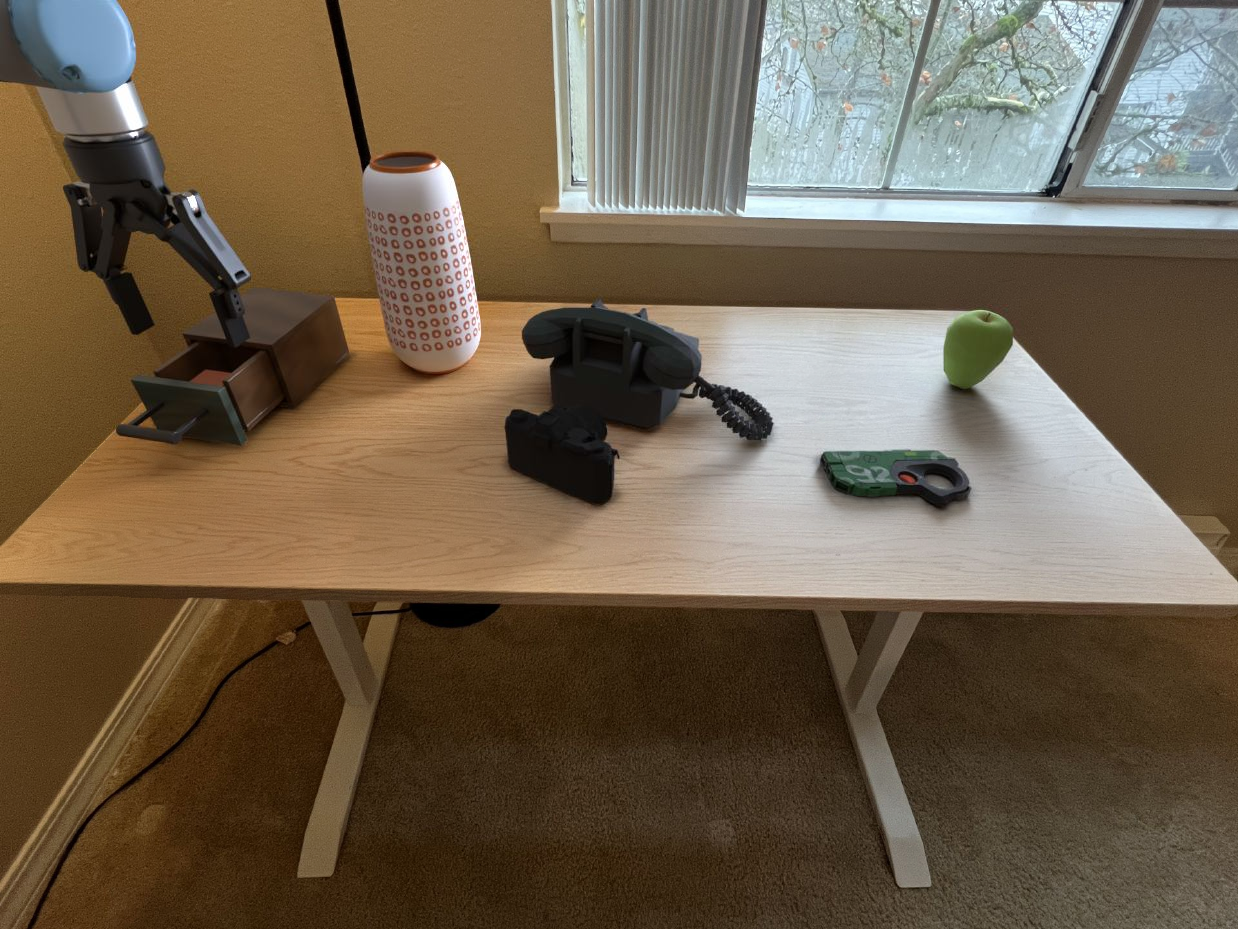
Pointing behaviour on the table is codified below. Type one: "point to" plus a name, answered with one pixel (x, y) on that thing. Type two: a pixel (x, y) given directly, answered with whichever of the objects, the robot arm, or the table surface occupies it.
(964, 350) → the apple
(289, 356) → the cabinet
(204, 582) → the table surface
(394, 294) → the white patterned cylinder
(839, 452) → the gun
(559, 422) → the film camera
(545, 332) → the rotary telephone
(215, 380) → the block
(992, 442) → the table surface
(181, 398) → the drawer
